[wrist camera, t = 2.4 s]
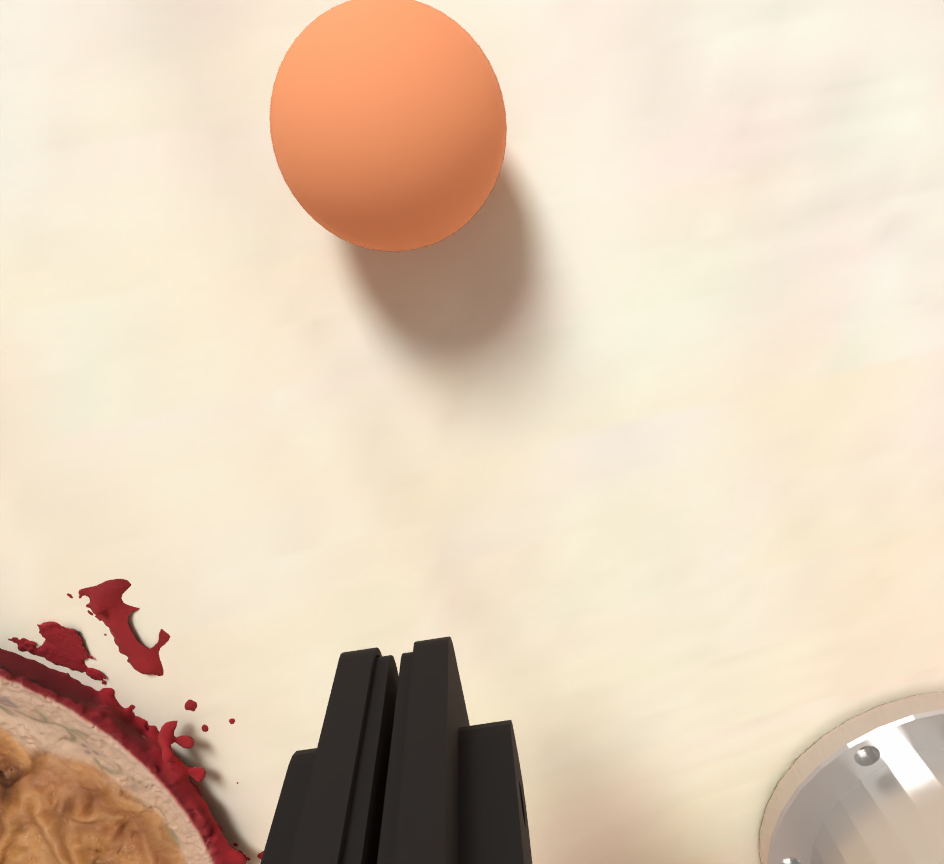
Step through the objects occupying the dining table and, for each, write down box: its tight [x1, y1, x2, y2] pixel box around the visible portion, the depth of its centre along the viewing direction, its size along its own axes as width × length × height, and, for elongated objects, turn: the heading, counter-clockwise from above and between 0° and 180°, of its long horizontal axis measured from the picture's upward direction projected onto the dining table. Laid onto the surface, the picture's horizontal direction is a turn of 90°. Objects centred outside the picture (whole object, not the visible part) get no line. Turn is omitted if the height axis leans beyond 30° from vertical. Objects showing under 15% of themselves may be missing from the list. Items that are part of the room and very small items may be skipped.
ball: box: [270, 0, 507, 251], centre depth 17 cm, size 6×6×6 cm
